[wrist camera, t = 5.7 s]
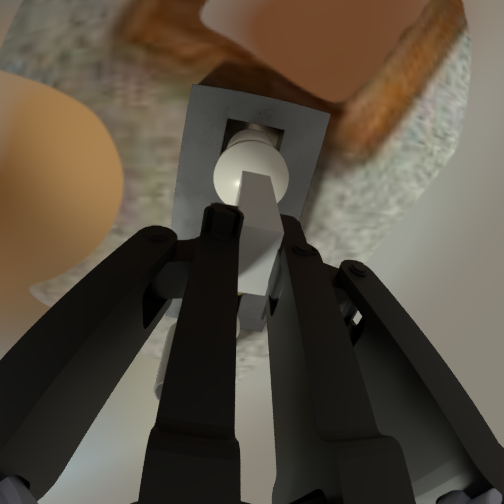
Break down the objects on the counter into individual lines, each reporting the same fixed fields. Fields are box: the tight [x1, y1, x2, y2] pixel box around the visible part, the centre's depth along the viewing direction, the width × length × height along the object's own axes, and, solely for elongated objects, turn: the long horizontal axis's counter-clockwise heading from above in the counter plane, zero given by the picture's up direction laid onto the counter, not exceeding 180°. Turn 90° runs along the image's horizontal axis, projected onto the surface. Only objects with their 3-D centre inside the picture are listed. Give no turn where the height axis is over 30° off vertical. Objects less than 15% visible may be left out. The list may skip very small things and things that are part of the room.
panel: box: [166, 84, 331, 332], centre depth 30 cm, size 26×12×3 cm, turn 168°
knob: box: [213, 129, 289, 206], centre depth 21 cm, size 5×5×8 cm
